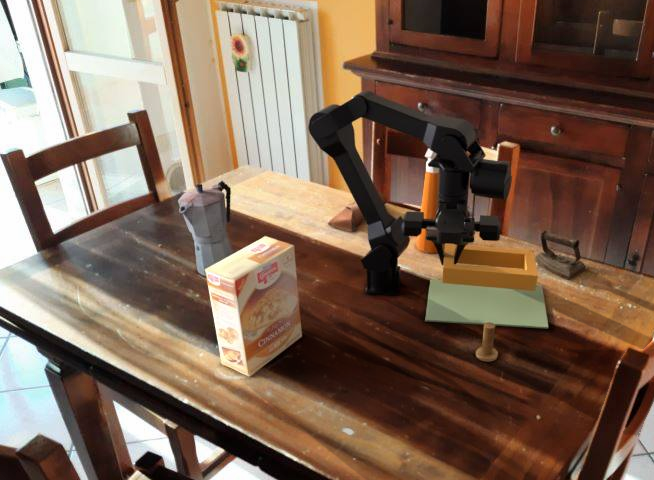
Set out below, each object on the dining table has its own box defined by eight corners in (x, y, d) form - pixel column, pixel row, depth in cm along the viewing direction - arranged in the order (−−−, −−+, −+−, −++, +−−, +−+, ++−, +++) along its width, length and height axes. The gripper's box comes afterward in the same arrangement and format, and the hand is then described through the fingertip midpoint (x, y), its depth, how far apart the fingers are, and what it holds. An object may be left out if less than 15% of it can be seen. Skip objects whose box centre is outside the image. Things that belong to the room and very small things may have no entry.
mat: (425, 321, 129) (425, 319, 129) (430, 281, 142) (430, 279, 142) (548, 328, 127) (548, 327, 127) (541, 287, 140) (542, 285, 140)
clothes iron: (572, 282, 143) (567, 241, 138) (528, 276, 150) (522, 236, 146) (588, 268, 147) (584, 227, 142) (545, 263, 154) (539, 223, 150)
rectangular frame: (441, 283, 127) (443, 267, 125) (444, 257, 135) (445, 243, 134) (535, 291, 126) (537, 275, 124) (531, 265, 134) (534, 250, 132)
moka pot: (178, 278, 142) (159, 191, 131) (219, 248, 154) (206, 166, 143) (215, 286, 139) (199, 199, 128) (254, 255, 151) (243, 172, 140)
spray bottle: (458, 239, 159) (465, 131, 144) (436, 256, 152) (441, 144, 137) (433, 232, 162) (437, 125, 148) (410, 248, 155) (412, 138, 140)
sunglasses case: (358, 198, 178) (369, 180, 173) (378, 215, 178) (390, 197, 173) (325, 224, 164) (336, 205, 160) (347, 242, 164) (358, 223, 160)
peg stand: (475, 361, 118) (478, 330, 114) (475, 348, 122) (478, 318, 118) (497, 362, 118) (501, 332, 114) (497, 349, 121) (500, 319, 117)
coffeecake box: (249, 377, 114) (234, 280, 103) (220, 364, 117) (202, 268, 106) (304, 336, 124) (295, 244, 113) (275, 325, 127) (264, 234, 116)
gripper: (398, 205, 116) (397, 282, 124) (504, 211, 114) (496, 288, 123) (404, 182, 125) (403, 255, 134) (503, 187, 123) (495, 260, 132)
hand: (448, 264), depth 130 cm, fingers closed on rectangular frame, 2 cm apart
